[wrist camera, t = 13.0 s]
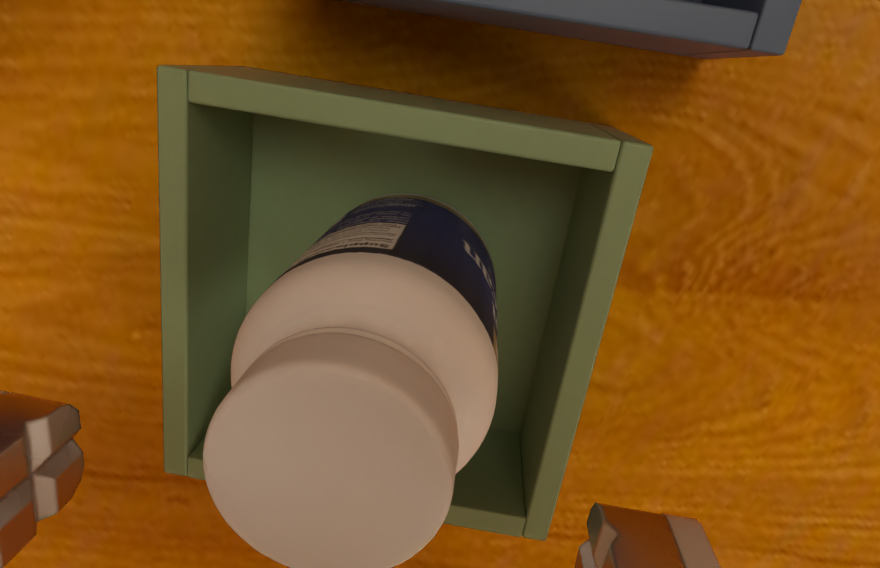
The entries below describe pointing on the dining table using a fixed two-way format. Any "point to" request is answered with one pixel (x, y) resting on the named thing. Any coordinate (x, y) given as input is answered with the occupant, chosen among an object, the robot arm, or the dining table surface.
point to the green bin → (369, 176)
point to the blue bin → (633, 22)
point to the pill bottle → (359, 389)
